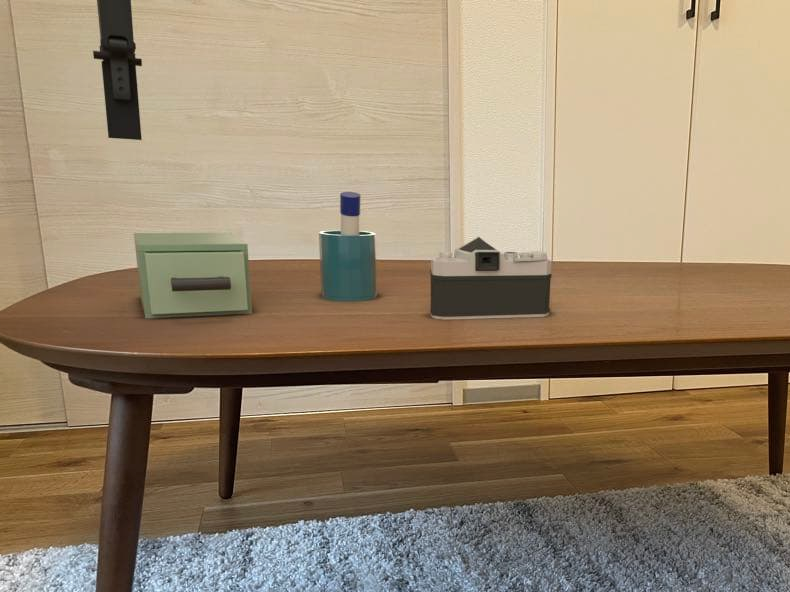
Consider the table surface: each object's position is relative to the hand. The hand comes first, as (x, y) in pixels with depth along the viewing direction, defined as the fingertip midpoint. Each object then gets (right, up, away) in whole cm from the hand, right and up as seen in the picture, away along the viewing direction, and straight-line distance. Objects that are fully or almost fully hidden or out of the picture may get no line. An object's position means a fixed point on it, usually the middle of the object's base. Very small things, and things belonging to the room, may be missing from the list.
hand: (125, 138), depth 72 cm
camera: (+32, -13, +29) cm, 45 cm away
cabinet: (-5, -13, +25) cm, 28 cm away
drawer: (-3, -13, +21) cm, 25 cm away
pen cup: (+12, -10, +36) cm, 39 cm away
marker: (+12, -9, +35) cm, 38 cm away
